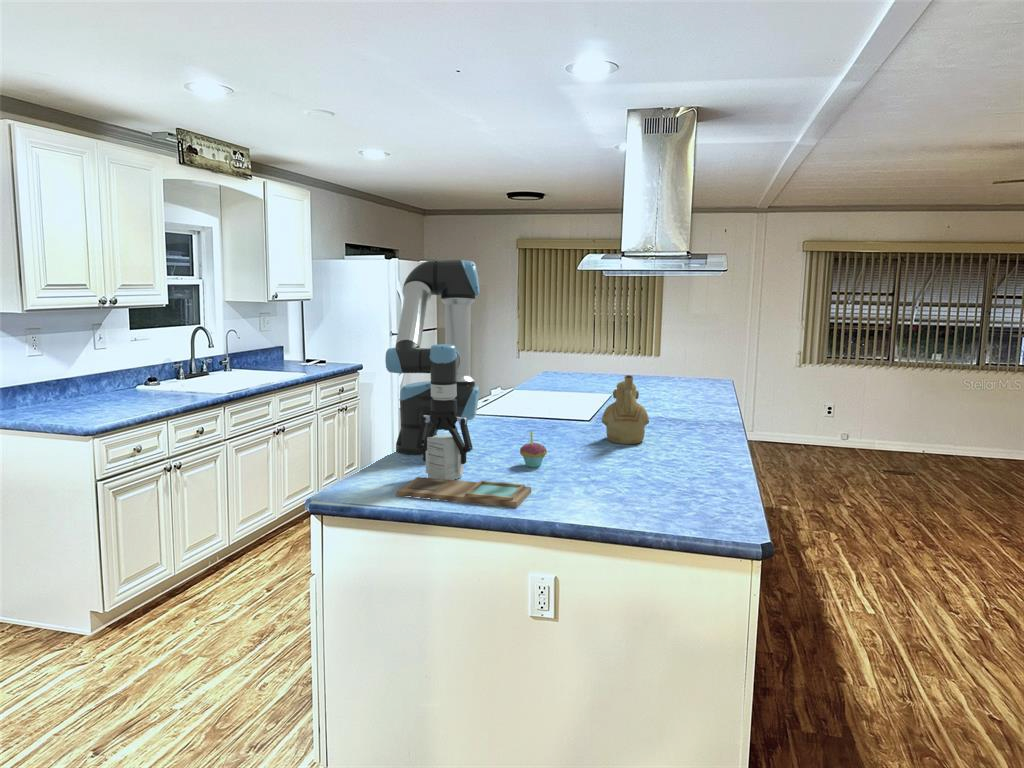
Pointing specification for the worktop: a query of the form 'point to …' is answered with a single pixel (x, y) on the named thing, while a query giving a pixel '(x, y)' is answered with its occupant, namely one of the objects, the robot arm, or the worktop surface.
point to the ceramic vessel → (625, 415)
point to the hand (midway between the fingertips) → (444, 473)
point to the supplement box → (442, 457)
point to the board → (467, 491)
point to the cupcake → (533, 453)
